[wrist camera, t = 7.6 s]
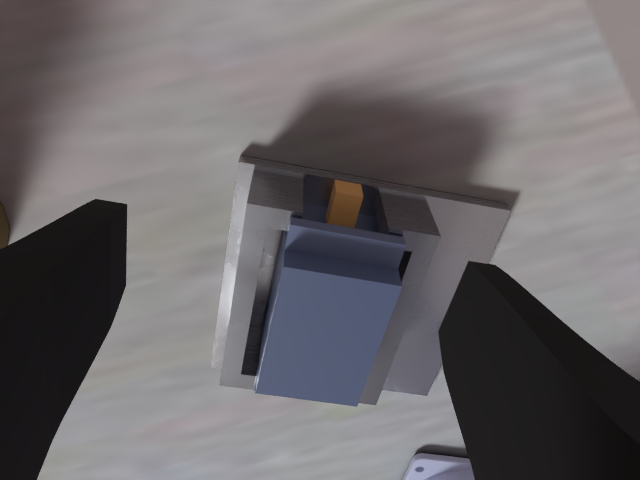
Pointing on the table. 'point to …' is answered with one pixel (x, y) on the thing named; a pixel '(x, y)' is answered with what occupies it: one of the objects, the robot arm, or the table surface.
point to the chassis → (392, 218)
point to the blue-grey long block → (328, 302)
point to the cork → (3, 228)
